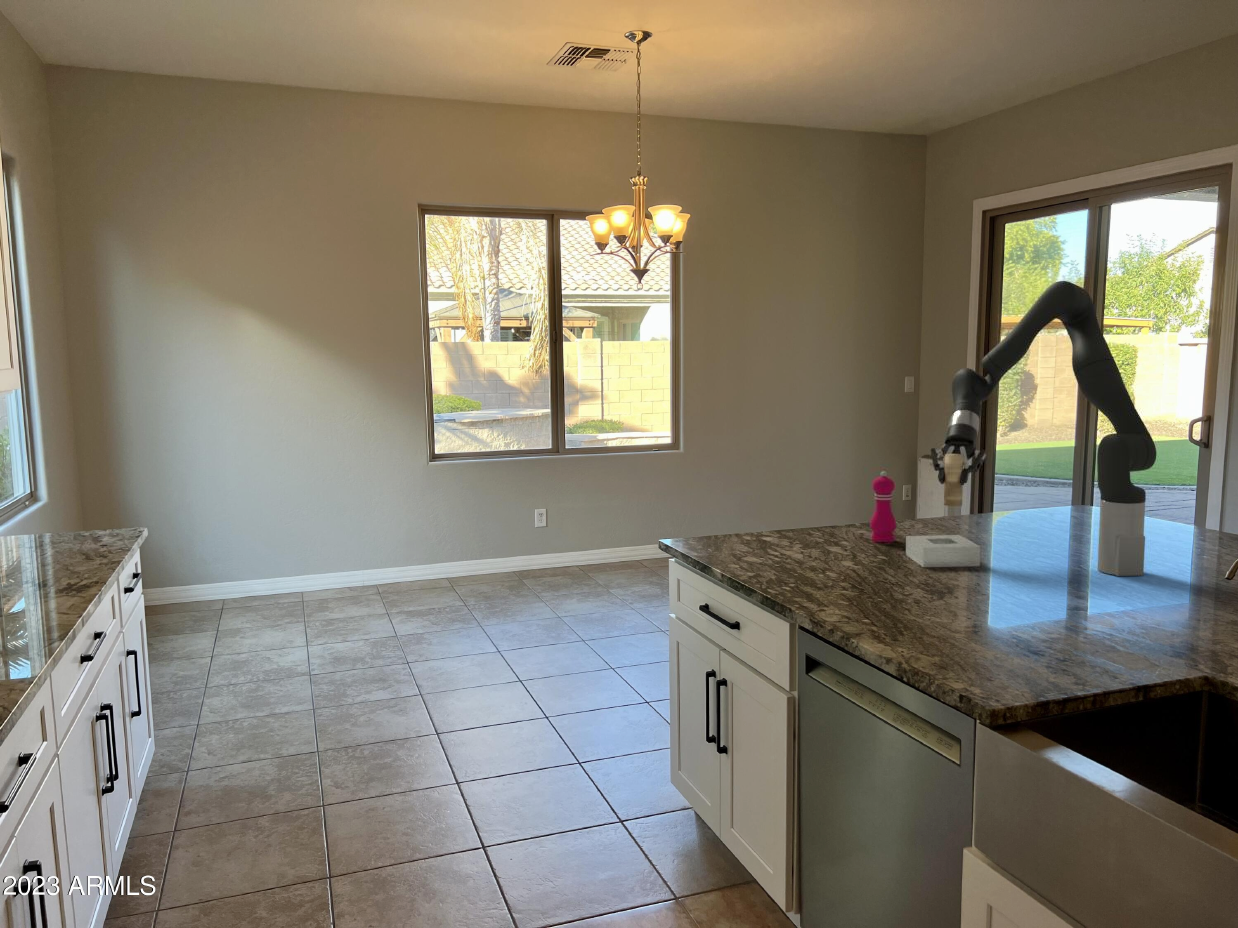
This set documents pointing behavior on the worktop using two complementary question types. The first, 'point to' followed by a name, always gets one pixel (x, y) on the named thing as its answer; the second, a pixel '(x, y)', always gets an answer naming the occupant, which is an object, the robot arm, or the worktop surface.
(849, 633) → the worktop surface
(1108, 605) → the worktop surface
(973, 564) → the white square frame block
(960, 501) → the peg
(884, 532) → the pepper mill
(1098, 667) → the worktop surface
